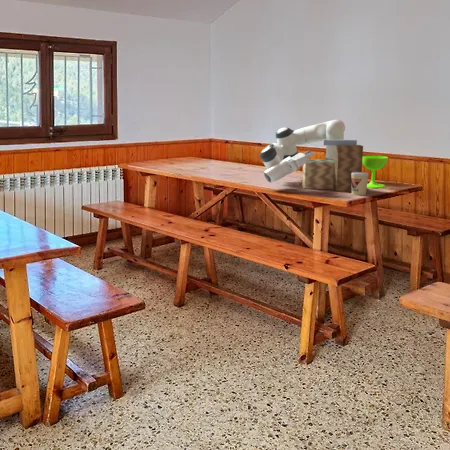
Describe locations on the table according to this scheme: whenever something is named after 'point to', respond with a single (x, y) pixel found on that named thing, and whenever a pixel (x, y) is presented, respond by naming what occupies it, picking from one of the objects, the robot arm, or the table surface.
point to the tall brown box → (346, 165)
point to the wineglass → (374, 168)
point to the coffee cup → (359, 183)
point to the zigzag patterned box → (318, 174)
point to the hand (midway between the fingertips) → (312, 152)
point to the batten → (340, 142)
